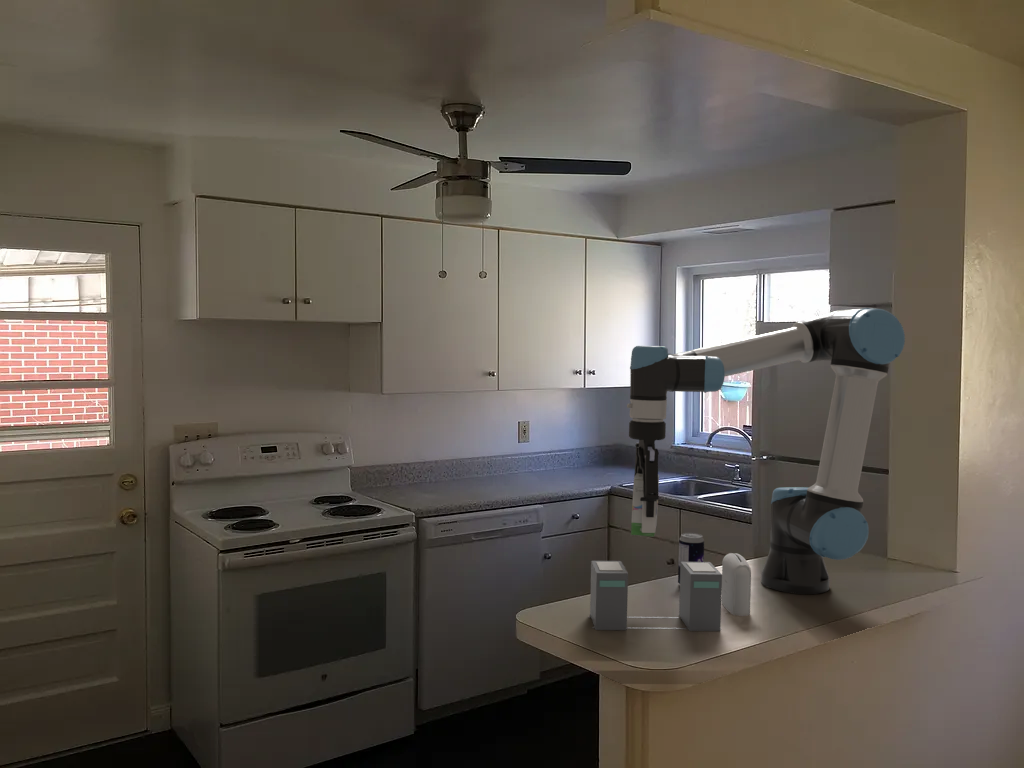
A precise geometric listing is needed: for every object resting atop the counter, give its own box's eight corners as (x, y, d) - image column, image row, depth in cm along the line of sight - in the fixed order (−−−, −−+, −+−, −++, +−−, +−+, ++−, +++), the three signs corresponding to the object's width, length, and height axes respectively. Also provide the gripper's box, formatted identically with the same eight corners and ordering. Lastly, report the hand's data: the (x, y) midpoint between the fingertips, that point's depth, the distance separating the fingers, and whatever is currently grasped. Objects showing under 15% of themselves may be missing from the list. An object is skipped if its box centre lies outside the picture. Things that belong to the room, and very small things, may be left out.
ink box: (633, 526, 184) (634, 472, 183) (657, 528, 182) (659, 473, 182) (630, 535, 175) (631, 478, 175) (655, 537, 174) (657, 479, 174)
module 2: (708, 615, 173) (710, 561, 172) (720, 631, 163) (722, 573, 163) (679, 615, 173) (680, 560, 172) (689, 631, 163) (691, 573, 163)
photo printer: (718, 605, 184) (720, 548, 183) (738, 605, 184) (740, 549, 183) (731, 621, 173) (733, 561, 173) (752, 621, 173) (754, 561, 173)
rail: (711, 622, 172) (711, 616, 172) (722, 636, 164) (722, 630, 164) (587, 621, 172) (587, 615, 172) (592, 635, 164) (592, 628, 164)
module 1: (619, 614, 172) (621, 560, 172) (626, 630, 163) (628, 572, 162) (590, 614, 172) (591, 559, 172) (595, 630, 163) (596, 572, 162)
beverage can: (698, 591, 193) (700, 539, 193) (674, 587, 196) (675, 535, 196) (706, 585, 198) (707, 534, 198) (682, 581, 201) (683, 531, 200)
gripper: (622, 414, 188) (619, 515, 190) (637, 424, 167) (634, 538, 168) (656, 415, 189) (653, 516, 190) (675, 425, 167) (672, 539, 168)
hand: (644, 526), depth 179 cm, fingers closed on ink box, 9 cm apart
